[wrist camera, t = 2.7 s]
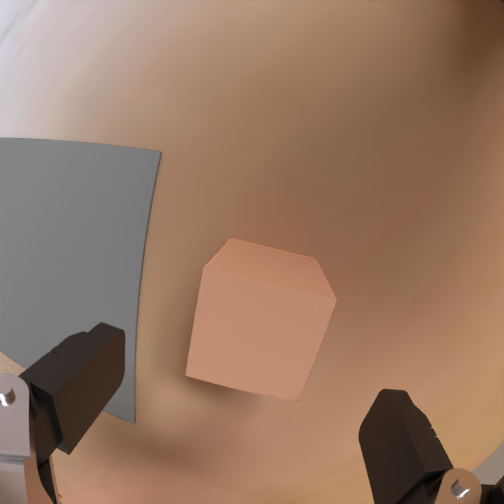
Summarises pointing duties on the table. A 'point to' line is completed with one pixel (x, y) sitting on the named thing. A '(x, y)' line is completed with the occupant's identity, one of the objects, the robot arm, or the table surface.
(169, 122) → the table surface
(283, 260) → the terracotta block
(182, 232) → the table surface
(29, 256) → the mat
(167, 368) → the table surface
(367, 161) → the table surface
